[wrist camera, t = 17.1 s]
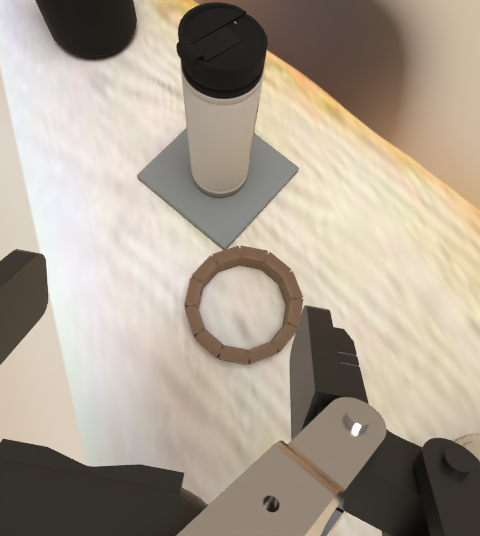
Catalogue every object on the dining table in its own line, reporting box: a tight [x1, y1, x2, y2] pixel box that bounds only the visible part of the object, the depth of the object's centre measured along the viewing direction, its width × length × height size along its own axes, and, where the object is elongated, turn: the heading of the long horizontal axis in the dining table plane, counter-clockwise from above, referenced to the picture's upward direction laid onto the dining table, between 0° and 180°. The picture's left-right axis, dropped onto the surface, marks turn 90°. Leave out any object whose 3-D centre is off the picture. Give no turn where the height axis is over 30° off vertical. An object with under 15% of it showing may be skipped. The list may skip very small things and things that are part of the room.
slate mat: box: [137, 128, 299, 250], centre depth 48 cm, size 13×13×1 cm
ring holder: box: [185, 246, 303, 364], centre depth 43 cm, size 11×11×3 cm
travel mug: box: [177, 3, 268, 197], centre depth 38 cm, size 6×7×20 cm
